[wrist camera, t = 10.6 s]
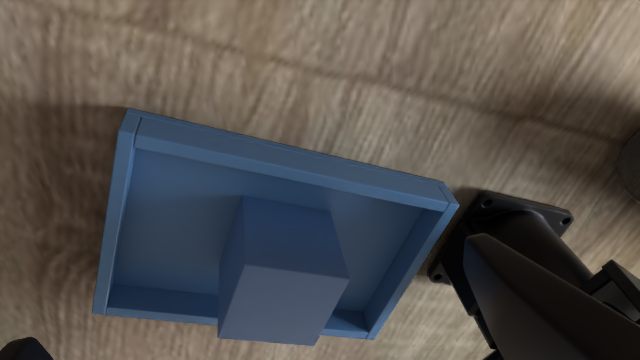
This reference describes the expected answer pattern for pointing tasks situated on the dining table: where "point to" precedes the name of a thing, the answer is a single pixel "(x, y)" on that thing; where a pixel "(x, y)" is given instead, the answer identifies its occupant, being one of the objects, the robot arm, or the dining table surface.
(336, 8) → the dining table surface
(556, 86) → the dining table surface
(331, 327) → the blue tray
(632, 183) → the flashlight
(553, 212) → the robot arm
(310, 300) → the blue block
